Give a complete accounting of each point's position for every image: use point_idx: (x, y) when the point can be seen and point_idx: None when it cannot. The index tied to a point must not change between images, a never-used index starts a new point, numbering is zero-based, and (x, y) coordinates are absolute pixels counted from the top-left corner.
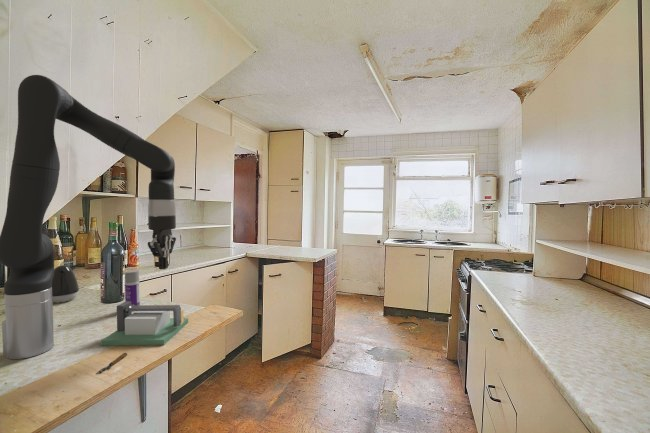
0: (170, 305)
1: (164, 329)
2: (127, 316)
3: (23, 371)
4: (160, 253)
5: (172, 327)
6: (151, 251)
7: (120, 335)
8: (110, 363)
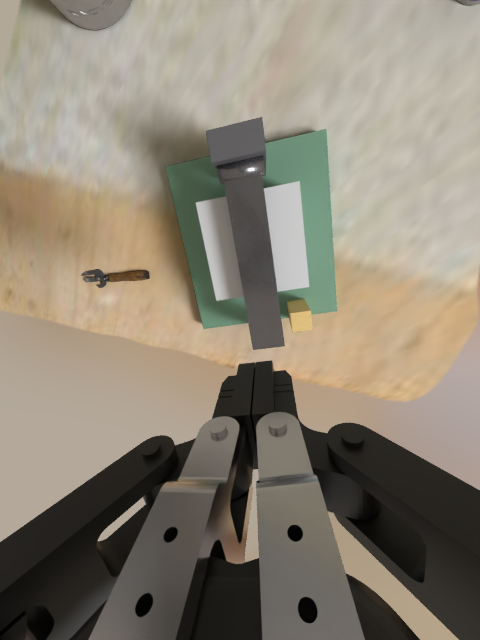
0: (277, 317)
1: None
2: None
3: (29, 94)
4: (132, 533)
5: None
6: (61, 503)
7: (201, 197)
8: (107, 278)
